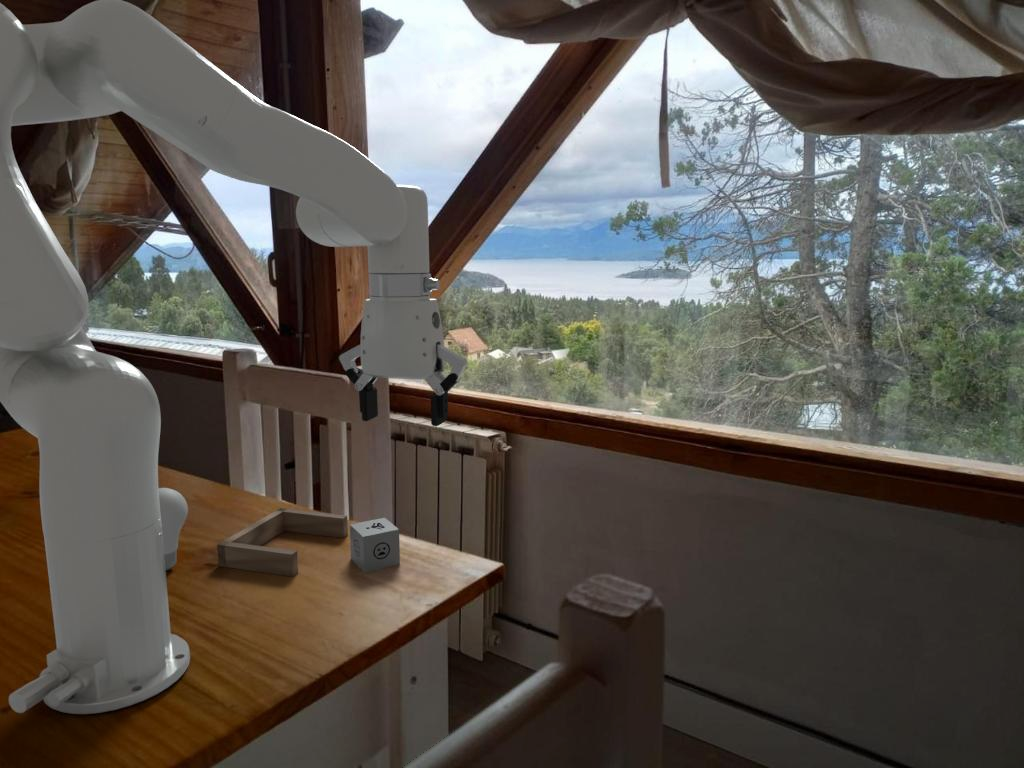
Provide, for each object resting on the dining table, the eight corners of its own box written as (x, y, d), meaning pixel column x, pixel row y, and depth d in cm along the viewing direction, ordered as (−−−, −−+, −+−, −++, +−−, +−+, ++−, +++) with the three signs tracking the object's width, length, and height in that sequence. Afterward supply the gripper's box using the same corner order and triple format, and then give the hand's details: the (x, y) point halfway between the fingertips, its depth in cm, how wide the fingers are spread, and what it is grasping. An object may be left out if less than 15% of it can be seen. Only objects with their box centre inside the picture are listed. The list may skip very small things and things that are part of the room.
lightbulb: (182, 555, 96) (176, 478, 94) (199, 569, 92) (193, 489, 90) (133, 569, 92) (126, 488, 90) (149, 584, 87) (141, 500, 85)
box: (293, 576, 90) (291, 554, 89) (218, 565, 93) (217, 544, 92) (347, 534, 103) (347, 515, 103) (281, 526, 106) (280, 508, 106)
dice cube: (399, 564, 94) (399, 529, 93) (364, 573, 91) (363, 536, 90) (385, 551, 98) (384, 517, 97) (350, 559, 95) (349, 524, 94)
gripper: (474, 287, 89) (476, 419, 92) (352, 286, 93) (358, 411, 96) (453, 290, 81) (456, 432, 85) (322, 288, 86) (329, 423, 89)
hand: (403, 421), depth 91 cm, fingers open, 9 cm apart
